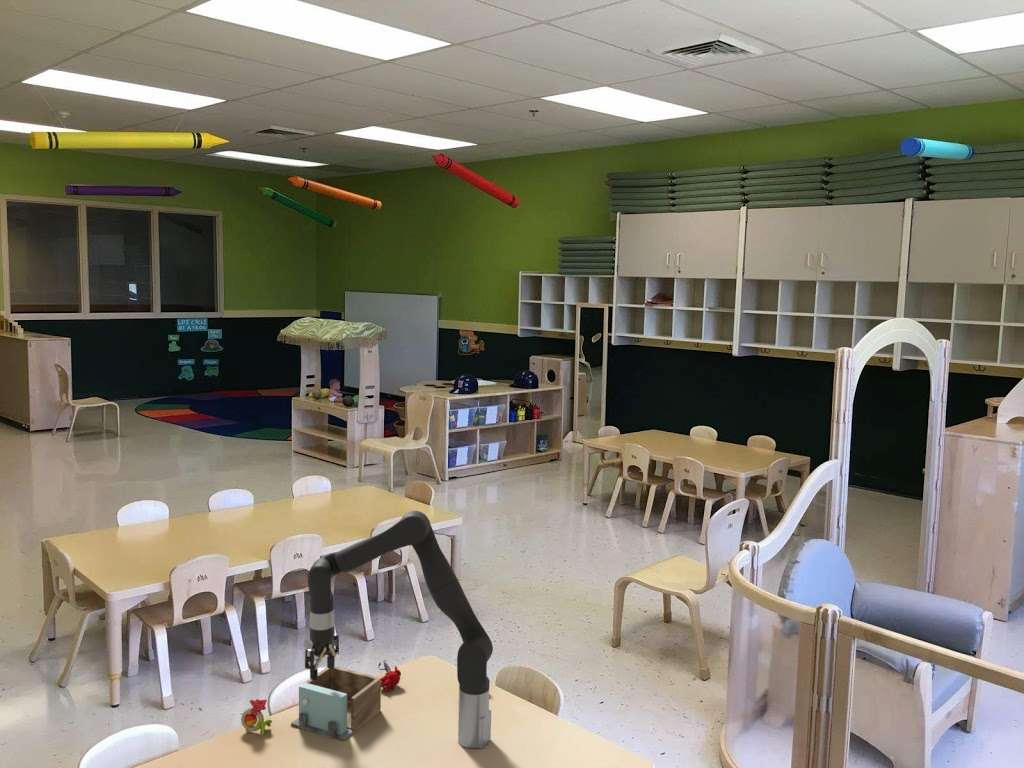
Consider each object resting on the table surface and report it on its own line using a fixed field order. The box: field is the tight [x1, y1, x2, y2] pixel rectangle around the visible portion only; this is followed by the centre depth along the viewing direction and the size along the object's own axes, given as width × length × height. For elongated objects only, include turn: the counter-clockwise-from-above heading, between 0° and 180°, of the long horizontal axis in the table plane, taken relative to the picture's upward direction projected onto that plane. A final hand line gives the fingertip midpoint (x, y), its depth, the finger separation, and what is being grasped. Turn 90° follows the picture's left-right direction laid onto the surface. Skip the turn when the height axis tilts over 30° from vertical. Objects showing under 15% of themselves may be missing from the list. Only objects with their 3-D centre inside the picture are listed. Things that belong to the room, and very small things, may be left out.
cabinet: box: [290, 665, 382, 742], centre depth 274 cm, size 20×21×11 cm
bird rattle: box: [240, 699, 273, 737], centre depth 265 cm, size 6×11×9 cm
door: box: [298, 682, 347, 735], centre depth 267 cm, size 16×4×12 cm, turn 66°
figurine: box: [377, 659, 402, 693], centre depth 299 cm, size 6×8×15 cm
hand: (322, 673), depth 266 cm, fingers open, 8 cm apart
